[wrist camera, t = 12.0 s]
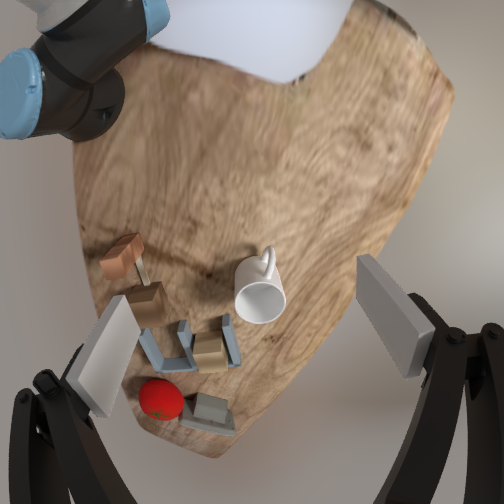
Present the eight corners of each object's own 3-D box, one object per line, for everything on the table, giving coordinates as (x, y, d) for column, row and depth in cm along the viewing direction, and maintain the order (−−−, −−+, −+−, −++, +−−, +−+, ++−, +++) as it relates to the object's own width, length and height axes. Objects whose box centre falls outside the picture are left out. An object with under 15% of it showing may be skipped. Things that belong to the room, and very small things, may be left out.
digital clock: (176, 399, 69) (172, 428, 60) (191, 384, 67) (186, 416, 57) (224, 417, 74) (224, 445, 64) (241, 404, 71) (242, 434, 61)
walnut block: (118, 237, 49) (93, 262, 39) (144, 231, 49) (123, 256, 39) (144, 308, 56) (130, 342, 46) (170, 305, 56) (158, 340, 46)
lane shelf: (141, 324, 58) (136, 336, 54) (229, 314, 57) (229, 325, 54) (159, 361, 63) (156, 372, 59) (240, 353, 62) (240, 365, 58)
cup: (230, 287, 55) (228, 318, 45) (247, 231, 50) (249, 254, 41) (270, 296, 56) (275, 327, 47) (290, 242, 51) (301, 268, 42)
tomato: (145, 367, 64) (136, 398, 54) (190, 381, 66) (185, 413, 56) (140, 389, 68) (132, 418, 58) (180, 402, 70) (176, 431, 60)
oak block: (196, 332, 59) (192, 354, 53) (222, 329, 59) (221, 351, 53) (203, 351, 62) (200, 373, 55) (228, 348, 61) (227, 370, 55)
